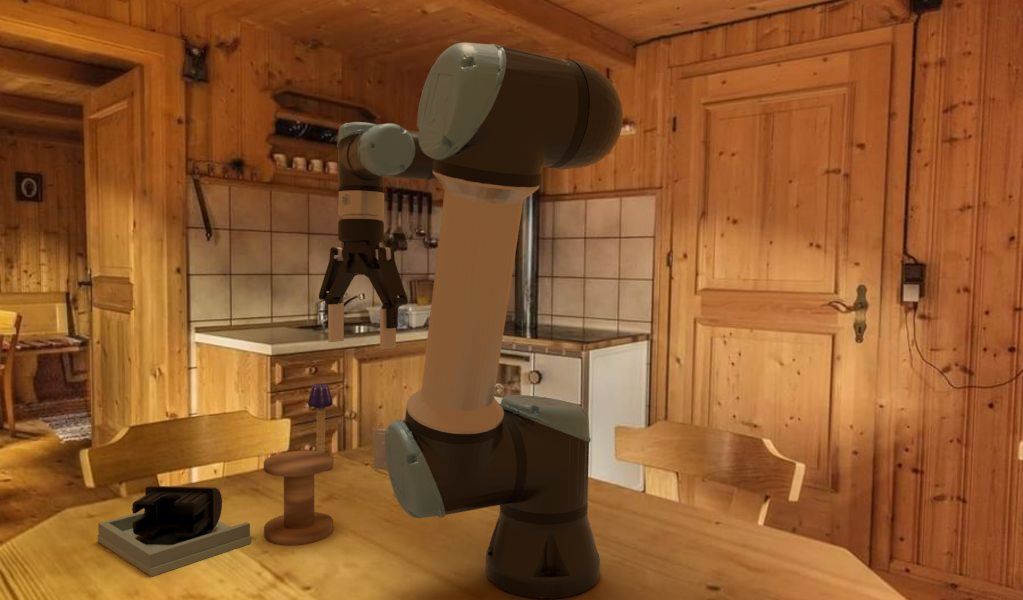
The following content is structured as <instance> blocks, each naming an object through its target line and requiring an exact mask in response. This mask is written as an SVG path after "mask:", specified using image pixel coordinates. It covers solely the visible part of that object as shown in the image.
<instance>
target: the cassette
mask: <svg viewBox="0 0 1023 600" xmlns="http://www.w3.org/2000/svg"><path fill="white" fill-rule="evenodd" d="M386 429H387V428H386ZM386 429H384V428H383V429H382V428H376V429H375V430H373V469H383V470H388V469H387V463H386V456H385V433H386Z"/></svg>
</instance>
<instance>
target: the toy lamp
mask: <svg viewBox="0 0 1023 600" xmlns="http://www.w3.org/2000/svg"><path fill="white" fill-rule="evenodd" d="M307 405H308V407H310V408H315V410H316V416H315V417H316V418H315V420H316V425H315V426H316V433H315V434H316V439H315V443H316V446H315V449H316V450H315V451H320V452H325V453H326V451H325V450H326V444H325V443H326V436H325V435H326V432H327V431H326V420H325V419H326V413H325V412H326V408H328V407H331V406H332V405H334V404H333V398H332V395H331V391H330V387H329V385H328V384H327V383H314V384H312V386H311V390H310V393H309V397H308V401H307ZM331 469H332V468H330V469H329V470H331Z"/></svg>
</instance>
